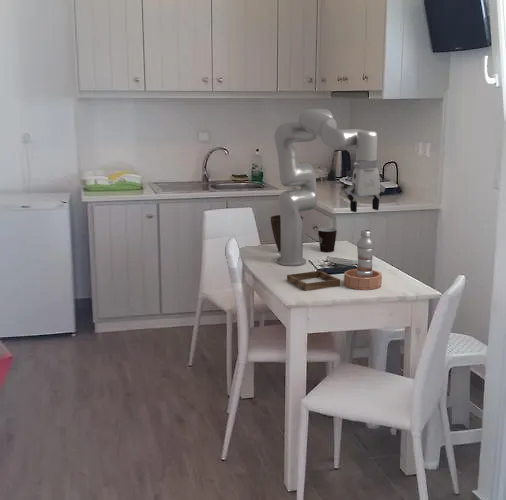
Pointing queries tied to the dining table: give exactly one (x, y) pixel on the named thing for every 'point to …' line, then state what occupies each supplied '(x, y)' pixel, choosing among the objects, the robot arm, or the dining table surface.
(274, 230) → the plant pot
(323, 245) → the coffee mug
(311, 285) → the brown picture frame
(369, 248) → the grey metal bulbous cylinder
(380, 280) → the terracotta bowl
